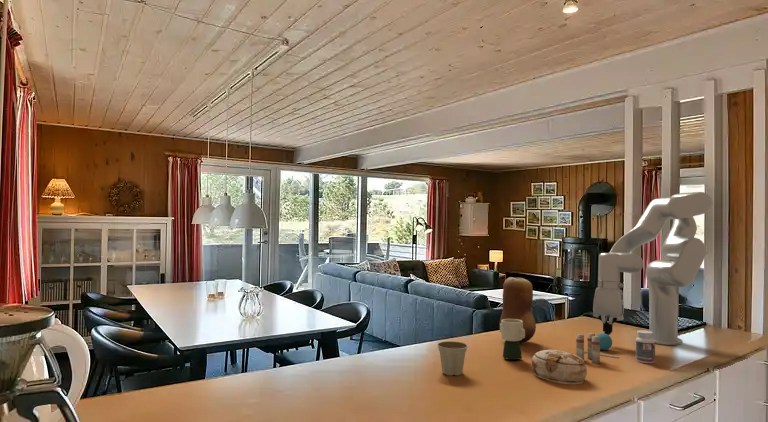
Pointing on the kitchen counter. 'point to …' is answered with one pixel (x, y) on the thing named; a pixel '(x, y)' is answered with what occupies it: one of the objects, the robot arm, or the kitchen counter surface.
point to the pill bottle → (645, 347)
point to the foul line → (605, 355)
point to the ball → (605, 341)
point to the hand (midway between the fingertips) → (607, 333)
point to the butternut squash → (519, 304)
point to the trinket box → (559, 367)
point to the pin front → (590, 344)
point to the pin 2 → (595, 349)
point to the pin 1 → (580, 345)
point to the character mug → (512, 337)
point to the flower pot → (452, 357)
